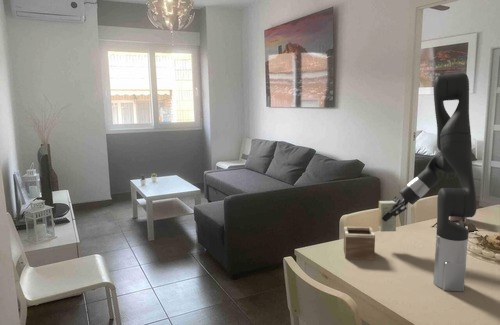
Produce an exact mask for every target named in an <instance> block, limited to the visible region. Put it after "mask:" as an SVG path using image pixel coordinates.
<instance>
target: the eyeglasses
mask: <svg viewBox="0 0 500 325" xmlns="http://www.w3.org/2000/svg"><path fill="white" fill-rule="evenodd" d="M452 222H454V223H458V224H459V225H461V226H463V227H465V228H467V230H468V233H470V232H474V231H478V232H479V229H477V228H476V226H475V225H474V224H473V223H469V224H467V223H466V222H465V220H464V219H459V220H456V221H452ZM435 226H437V222H436V223H435V224H433V225H432V226H431V228H434V227H435ZM466 226H467V227H466Z"/></svg>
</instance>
